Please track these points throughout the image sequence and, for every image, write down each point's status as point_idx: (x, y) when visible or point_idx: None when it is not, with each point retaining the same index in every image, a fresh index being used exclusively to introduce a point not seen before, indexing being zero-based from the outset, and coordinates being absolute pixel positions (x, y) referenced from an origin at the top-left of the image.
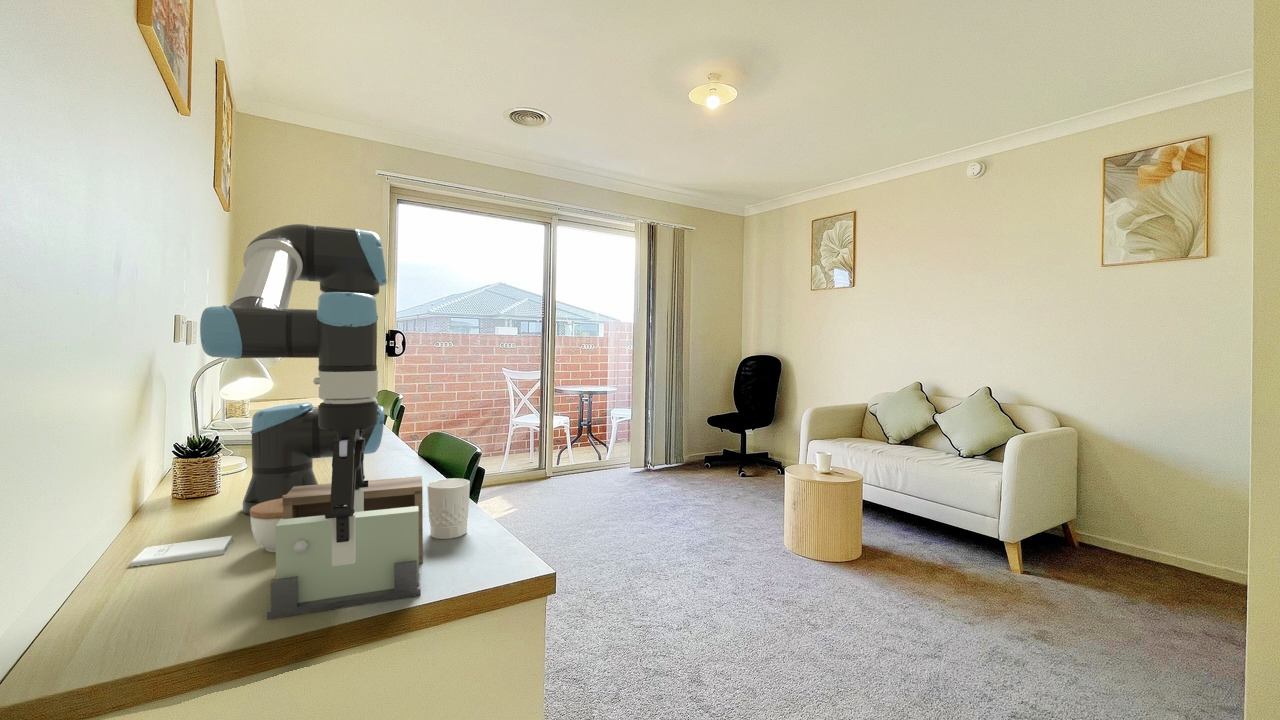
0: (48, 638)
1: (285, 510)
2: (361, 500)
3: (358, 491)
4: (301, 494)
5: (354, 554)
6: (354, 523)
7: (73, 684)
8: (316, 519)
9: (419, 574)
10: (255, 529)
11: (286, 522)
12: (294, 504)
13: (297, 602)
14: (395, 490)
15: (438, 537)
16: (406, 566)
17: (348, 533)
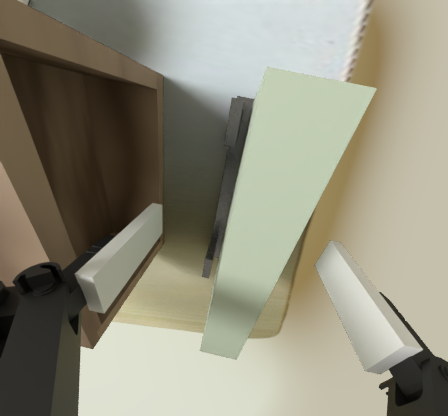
0: (200, 331)
1: (110, 321)
2: (119, 253)
3: (98, 283)
4: None
5: (349, 254)
6: (400, 320)
7: (273, 326)
8: (234, 327)
9: (243, 98)
10: None
11: (225, 350)
12: (99, 324)
13: None
14: (2, 140)
15: (25, 1)
16: None
17: (394, 310)
